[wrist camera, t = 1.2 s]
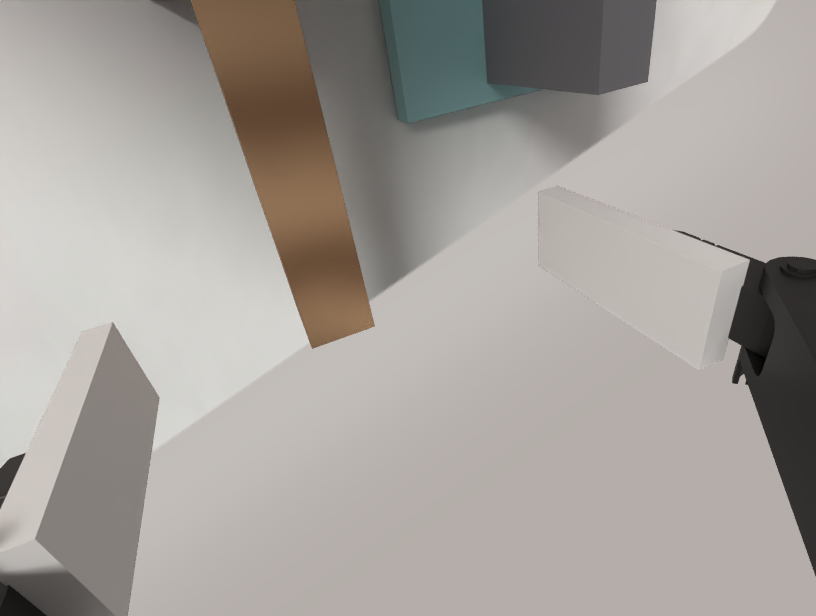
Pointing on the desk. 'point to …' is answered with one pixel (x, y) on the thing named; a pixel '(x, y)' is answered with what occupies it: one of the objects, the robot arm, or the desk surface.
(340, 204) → the walnut rod
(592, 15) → the stand
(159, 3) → the desk surface
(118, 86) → the desk surface
